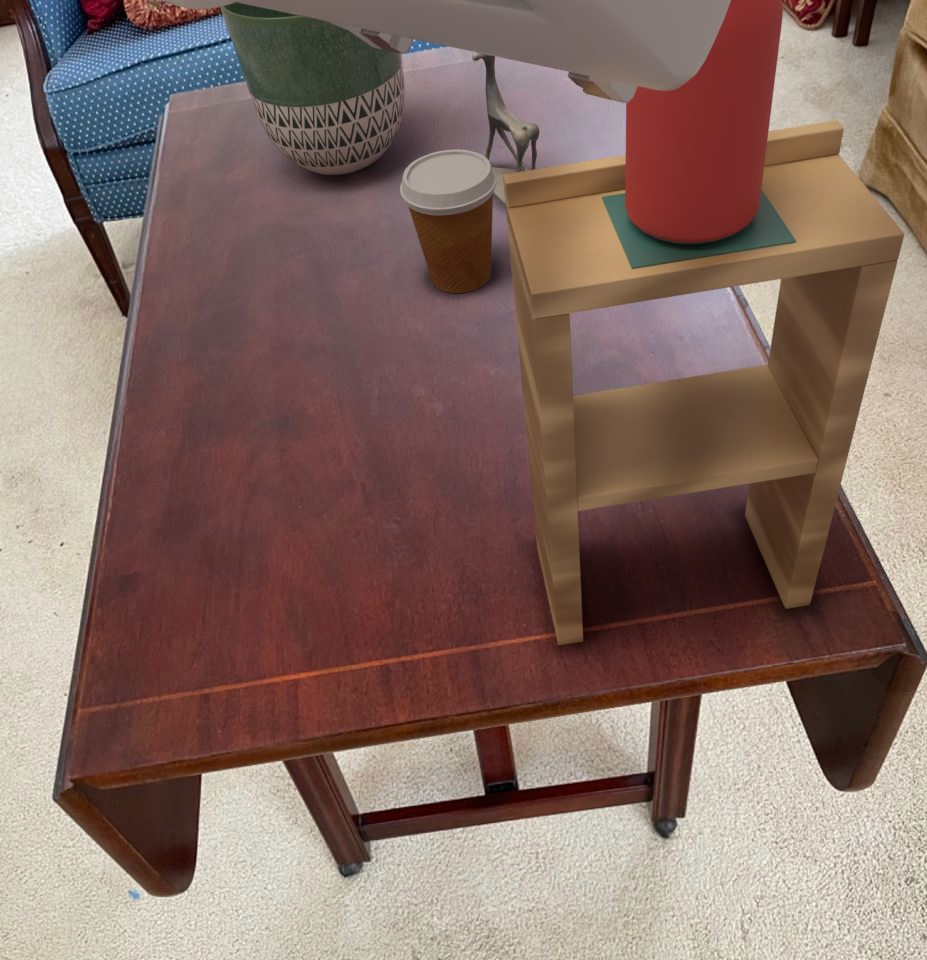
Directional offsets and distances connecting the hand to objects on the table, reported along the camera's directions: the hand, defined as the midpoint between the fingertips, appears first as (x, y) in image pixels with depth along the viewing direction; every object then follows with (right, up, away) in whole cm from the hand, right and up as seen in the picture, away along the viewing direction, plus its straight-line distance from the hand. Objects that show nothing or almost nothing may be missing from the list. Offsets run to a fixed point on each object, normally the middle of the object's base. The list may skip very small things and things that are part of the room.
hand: (503, 52), depth 32 cm
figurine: (+5, +20, +79) cm, 82 cm away
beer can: (+10, -1, +16) cm, 19 cm away
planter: (-16, +26, +87) cm, 93 cm away
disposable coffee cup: (-2, +7, +67) cm, 67 cm away
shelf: (+14, -22, +37) cm, 45 cm away
